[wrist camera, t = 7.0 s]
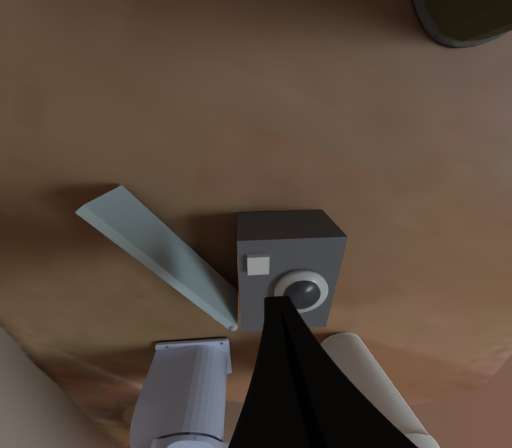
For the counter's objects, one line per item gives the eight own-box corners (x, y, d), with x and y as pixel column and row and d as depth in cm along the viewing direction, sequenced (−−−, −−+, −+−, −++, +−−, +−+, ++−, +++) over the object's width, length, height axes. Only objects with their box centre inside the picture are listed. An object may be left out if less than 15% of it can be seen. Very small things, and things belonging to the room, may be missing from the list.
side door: (233, 295, 22) (232, 332, 18) (115, 190, 16) (75, 212, 12) (239, 292, 22) (238, 328, 18) (121, 184, 16) (82, 205, 12)
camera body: (240, 291, 23) (240, 339, 18) (236, 212, 18) (235, 246, 13) (309, 287, 23) (328, 333, 18) (322, 209, 19) (352, 242, 14)
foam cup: (296, 356, 30) (331, 505, 18) (333, 318, 26) (407, 472, 15) (344, 368, 32) (402, 505, 21) (384, 334, 29) (480, 477, 17)
